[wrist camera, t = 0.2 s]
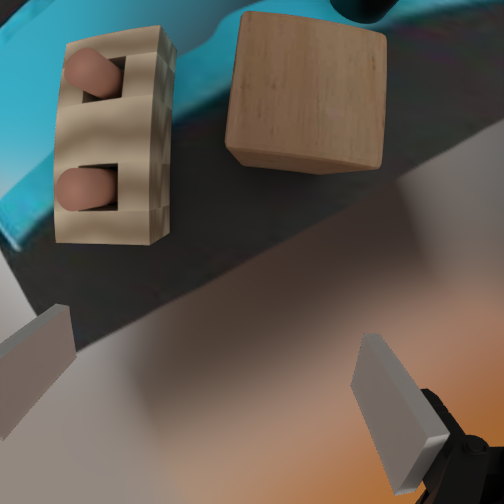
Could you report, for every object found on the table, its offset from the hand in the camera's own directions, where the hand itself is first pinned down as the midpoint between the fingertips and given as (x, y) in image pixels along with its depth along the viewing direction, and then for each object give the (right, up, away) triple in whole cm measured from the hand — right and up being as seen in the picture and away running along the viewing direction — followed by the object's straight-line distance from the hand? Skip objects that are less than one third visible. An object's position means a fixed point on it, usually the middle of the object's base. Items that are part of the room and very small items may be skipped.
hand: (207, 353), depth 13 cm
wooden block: (+6, +19, +24) cm, 31 cm away
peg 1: (-14, +23, +18) cm, 33 cm away
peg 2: (-14, +12, +21) cm, 28 cm away
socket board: (-14, +18, +24) cm, 34 cm away
